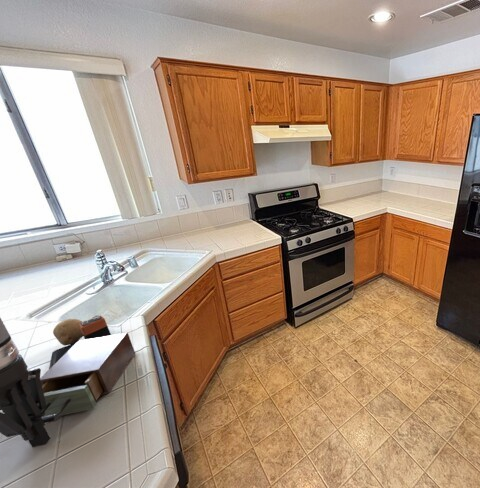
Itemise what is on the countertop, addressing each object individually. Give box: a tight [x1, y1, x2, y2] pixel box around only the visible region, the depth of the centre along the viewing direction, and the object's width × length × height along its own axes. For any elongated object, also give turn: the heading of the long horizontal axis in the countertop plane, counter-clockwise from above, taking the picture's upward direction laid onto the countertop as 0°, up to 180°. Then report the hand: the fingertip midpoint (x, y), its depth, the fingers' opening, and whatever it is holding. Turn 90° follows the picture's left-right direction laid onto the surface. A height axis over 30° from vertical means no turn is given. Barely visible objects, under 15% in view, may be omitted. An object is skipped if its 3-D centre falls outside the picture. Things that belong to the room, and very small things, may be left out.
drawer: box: [37, 372, 104, 424], centre depth 73 cm, size 21×13×7 cm, turn 12°
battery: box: [79, 314, 112, 340], centre depth 98 cm, size 4×7×10 cm, turn 144°
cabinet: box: [40, 332, 136, 396], centre depth 81 cm, size 17×15×9 cm
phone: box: [48, 342, 77, 370], centre depth 91 cm, size 8×1×15 cm
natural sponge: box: [52, 318, 84, 346], centre depth 98 cm, size 9×9×10 cm
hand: (41, 442), depth 62 cm, fingers closed
